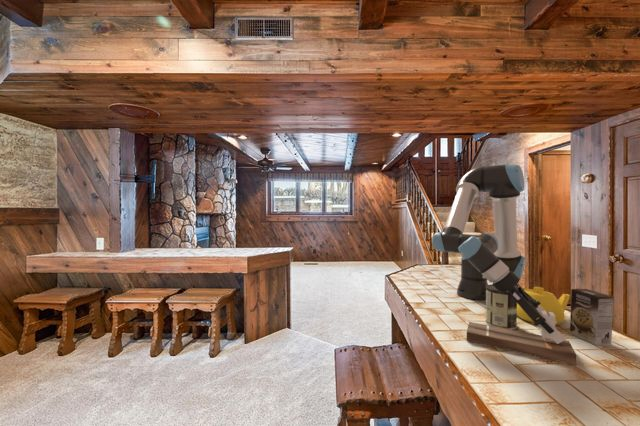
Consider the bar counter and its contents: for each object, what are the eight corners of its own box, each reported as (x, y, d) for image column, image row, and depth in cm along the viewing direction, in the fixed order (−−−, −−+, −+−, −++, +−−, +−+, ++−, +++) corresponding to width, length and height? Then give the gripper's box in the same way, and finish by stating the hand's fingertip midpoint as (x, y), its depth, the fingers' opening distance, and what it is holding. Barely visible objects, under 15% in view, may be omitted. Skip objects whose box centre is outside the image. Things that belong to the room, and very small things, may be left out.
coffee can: (509, 320, 115) (510, 285, 115) (522, 331, 105) (523, 292, 105) (481, 318, 117) (482, 283, 117) (490, 328, 107) (491, 290, 107)
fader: (540, 337, 93) (541, 310, 93) (552, 339, 91) (553, 312, 91) (542, 342, 89) (542, 314, 89) (554, 344, 88) (555, 316, 88)
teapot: (530, 326, 110) (531, 293, 109) (501, 308, 128) (502, 280, 128) (585, 328, 109) (587, 294, 108) (548, 310, 127) (549, 281, 127)
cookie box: (568, 333, 104) (570, 288, 103) (584, 332, 104) (586, 288, 104) (595, 346, 95) (597, 296, 94) (612, 344, 95) (614, 296, 95)
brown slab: (468, 329, 106) (468, 321, 106) (568, 350, 92) (568, 340, 92) (466, 340, 97) (466, 331, 97) (576, 365, 83) (576, 354, 83)
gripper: (491, 276, 108) (540, 324, 101) (490, 293, 87) (552, 356, 80) (508, 263, 106) (560, 312, 98) (512, 277, 84) (579, 342, 77)
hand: (557, 332), depth 89 cm, fingers open, 13 cm apart
